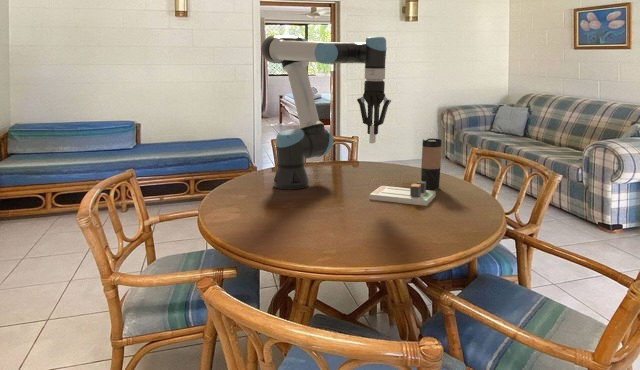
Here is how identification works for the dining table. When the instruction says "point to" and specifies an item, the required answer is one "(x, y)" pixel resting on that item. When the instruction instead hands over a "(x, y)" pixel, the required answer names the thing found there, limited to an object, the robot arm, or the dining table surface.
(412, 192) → the breaker handle
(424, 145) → the travel mug
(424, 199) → the board
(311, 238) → the dining table surface
